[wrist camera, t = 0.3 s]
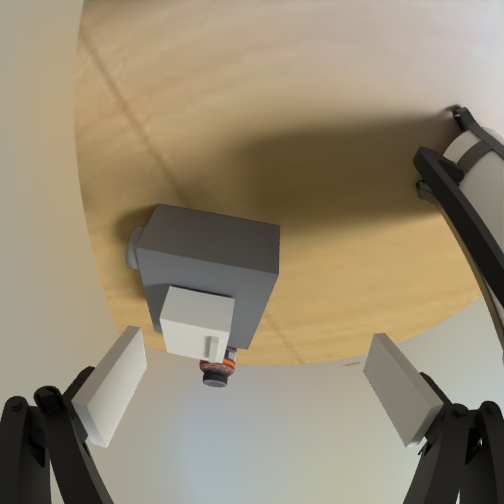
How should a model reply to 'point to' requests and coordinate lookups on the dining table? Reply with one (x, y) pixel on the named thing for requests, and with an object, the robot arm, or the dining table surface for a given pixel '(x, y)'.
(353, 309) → the dining table surface
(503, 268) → the coffee press
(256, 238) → the gray box
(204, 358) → the hatch door
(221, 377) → the supplement bottle
